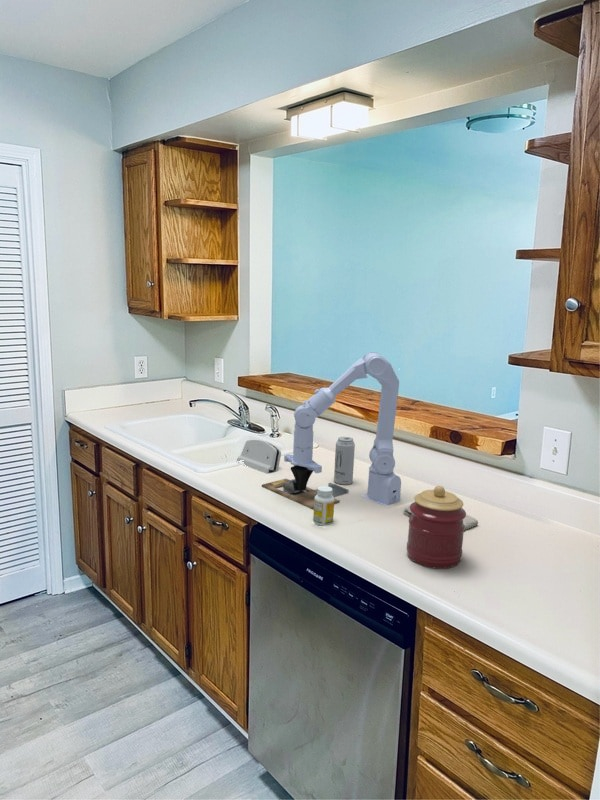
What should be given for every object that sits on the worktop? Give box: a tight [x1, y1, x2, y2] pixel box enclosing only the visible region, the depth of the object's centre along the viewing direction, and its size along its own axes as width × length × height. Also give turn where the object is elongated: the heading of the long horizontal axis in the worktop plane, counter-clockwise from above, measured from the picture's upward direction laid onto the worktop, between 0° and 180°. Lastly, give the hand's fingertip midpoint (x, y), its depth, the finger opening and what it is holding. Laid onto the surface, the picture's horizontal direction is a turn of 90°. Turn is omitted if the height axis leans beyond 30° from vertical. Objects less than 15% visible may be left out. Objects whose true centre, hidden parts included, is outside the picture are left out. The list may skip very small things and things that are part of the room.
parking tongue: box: [314, 482, 350, 498], centre depth 179 cm, size 8×7×2 cm
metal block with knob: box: [282, 478, 308, 494], centre depth 177 cm, size 5×5×4 cm
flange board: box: [261, 478, 341, 511], centre depth 175 cm, size 24×10×2 cm, turn 42°
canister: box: [406, 485, 467, 569], centre depth 137 cm, size 13×13×18 cm
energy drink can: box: [333, 436, 356, 486], centre depth 186 cm, size 6×6×15 cm
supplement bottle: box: [312, 485, 335, 527], centre depth 156 cm, size 5×5×10 cm
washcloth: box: [403, 506, 479, 531], centre depth 161 cm, size 12×18×3 cm, turn 41°
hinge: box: [236, 439, 282, 474], centre depth 202 cm, size 17×5×10 cm, turn 46°
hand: (301, 489), depth 174 cm, fingers closed
